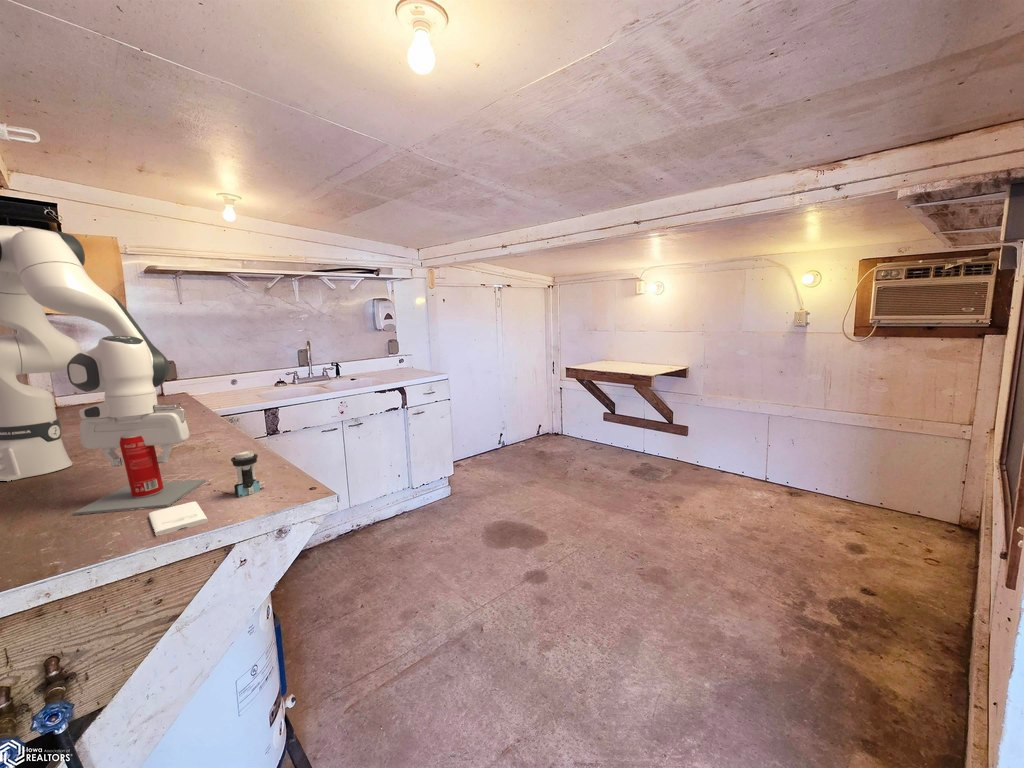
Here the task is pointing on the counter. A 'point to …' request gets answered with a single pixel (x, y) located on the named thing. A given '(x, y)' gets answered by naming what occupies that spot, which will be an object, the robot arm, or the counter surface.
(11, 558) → the counter surface
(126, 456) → the beverage can
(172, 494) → the mat
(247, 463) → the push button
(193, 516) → the external hard drive
